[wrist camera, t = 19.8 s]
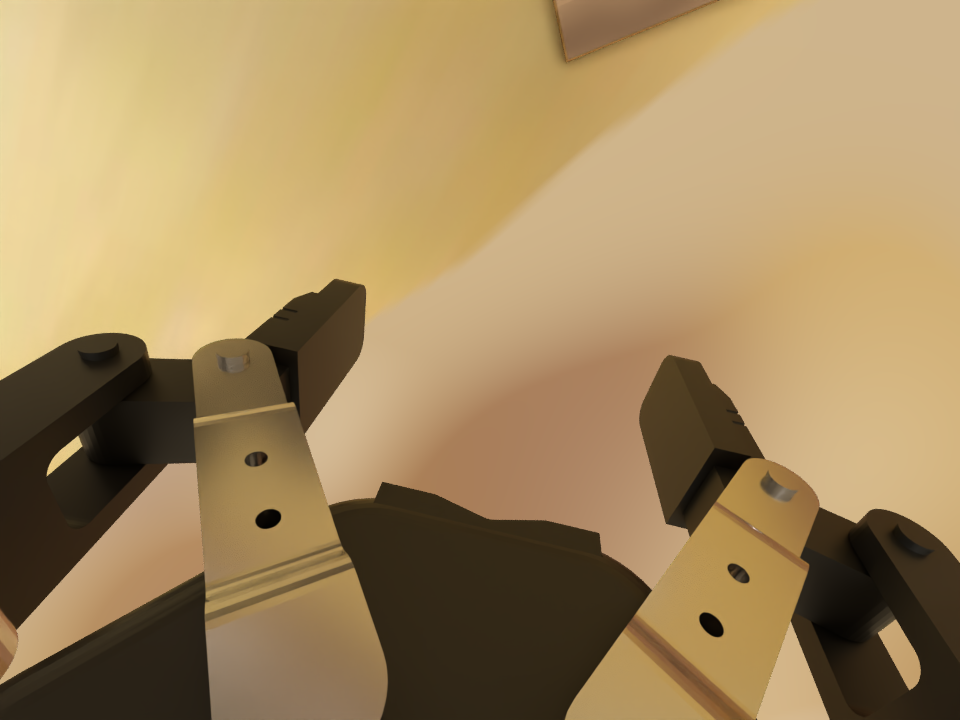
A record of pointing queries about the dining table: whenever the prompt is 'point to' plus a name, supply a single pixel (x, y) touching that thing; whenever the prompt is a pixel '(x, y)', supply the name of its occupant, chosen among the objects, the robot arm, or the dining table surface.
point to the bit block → (613, 20)
